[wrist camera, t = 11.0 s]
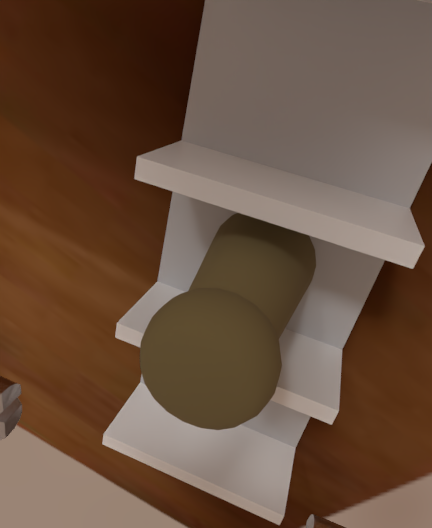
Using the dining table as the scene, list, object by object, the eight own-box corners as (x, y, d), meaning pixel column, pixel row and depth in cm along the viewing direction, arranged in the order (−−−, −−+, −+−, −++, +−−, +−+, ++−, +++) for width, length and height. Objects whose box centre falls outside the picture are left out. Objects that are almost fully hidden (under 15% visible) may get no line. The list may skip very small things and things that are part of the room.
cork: (302, 196, 21) (254, 297, 11) (327, 298, 23) (305, 460, 13) (197, 220, 23) (85, 321, 14) (228, 311, 25) (149, 456, 15)
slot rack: (224, -64, 18) (169, -121, 13) (506, -9, 16) (578, -50, 11) (144, 383, 31) (102, 444, 26) (293, 445, 29) (279, 525, 24)
